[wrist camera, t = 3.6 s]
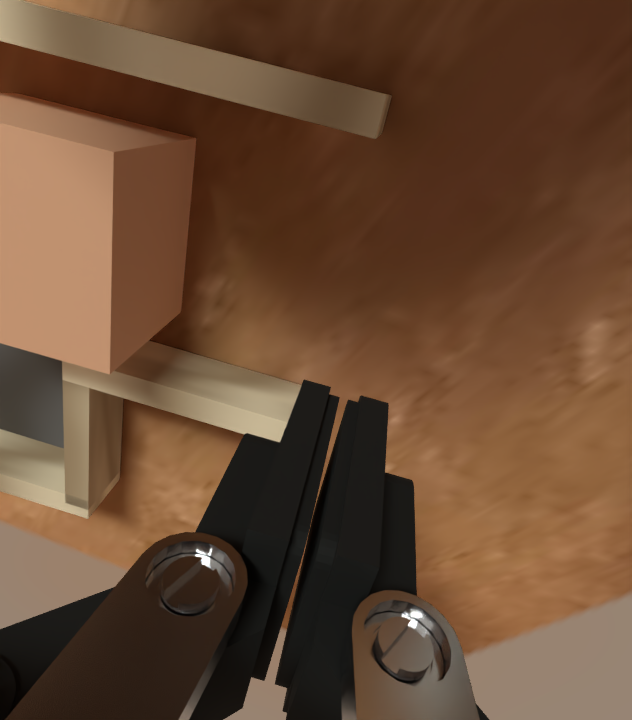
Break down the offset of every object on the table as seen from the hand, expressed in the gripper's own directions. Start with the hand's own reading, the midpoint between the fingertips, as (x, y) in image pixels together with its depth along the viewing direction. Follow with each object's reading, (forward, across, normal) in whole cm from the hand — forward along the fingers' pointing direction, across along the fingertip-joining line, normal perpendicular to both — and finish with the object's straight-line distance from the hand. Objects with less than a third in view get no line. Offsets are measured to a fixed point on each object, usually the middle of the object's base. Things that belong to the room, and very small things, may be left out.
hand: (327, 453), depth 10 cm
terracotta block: (+9, +9, -1) cm, 13 cm away
